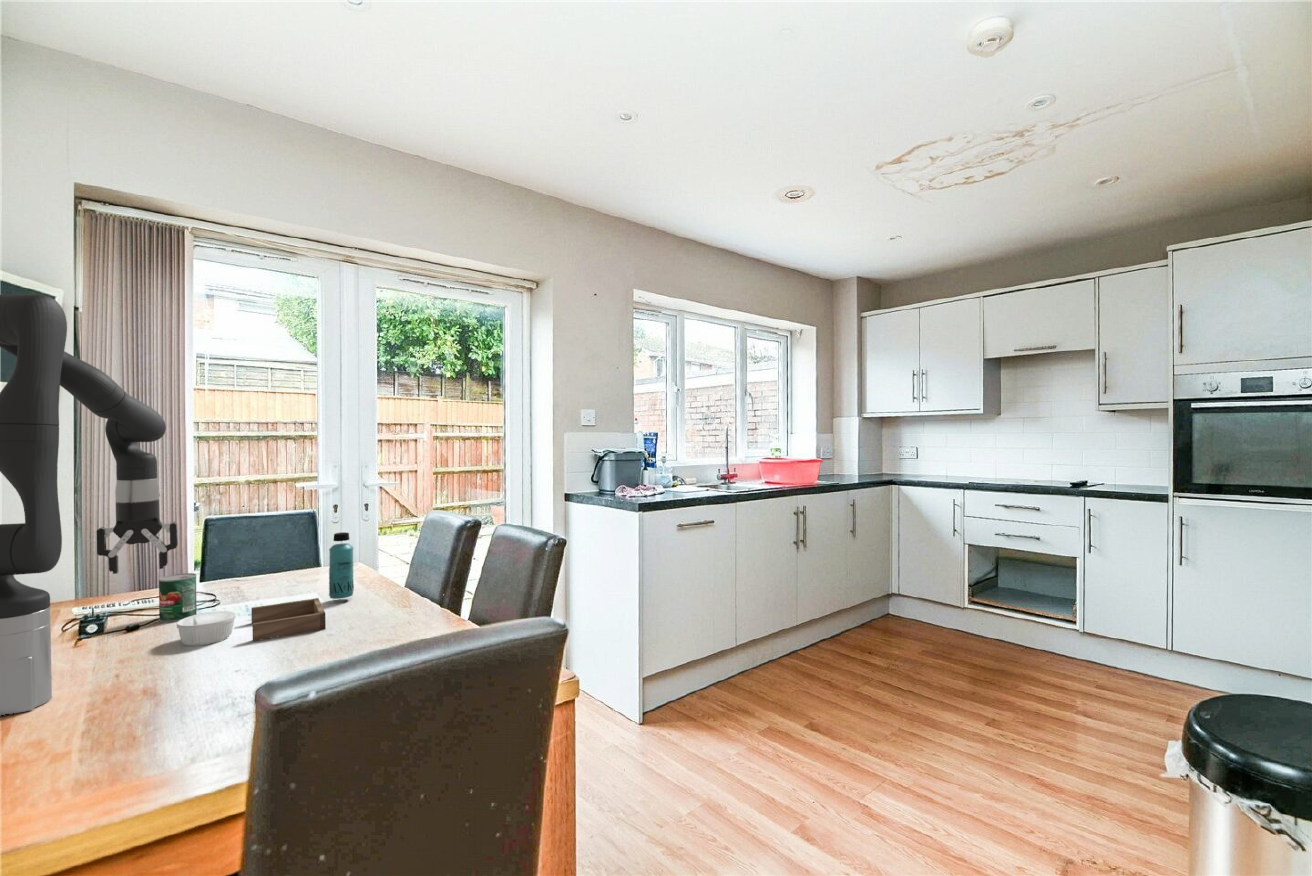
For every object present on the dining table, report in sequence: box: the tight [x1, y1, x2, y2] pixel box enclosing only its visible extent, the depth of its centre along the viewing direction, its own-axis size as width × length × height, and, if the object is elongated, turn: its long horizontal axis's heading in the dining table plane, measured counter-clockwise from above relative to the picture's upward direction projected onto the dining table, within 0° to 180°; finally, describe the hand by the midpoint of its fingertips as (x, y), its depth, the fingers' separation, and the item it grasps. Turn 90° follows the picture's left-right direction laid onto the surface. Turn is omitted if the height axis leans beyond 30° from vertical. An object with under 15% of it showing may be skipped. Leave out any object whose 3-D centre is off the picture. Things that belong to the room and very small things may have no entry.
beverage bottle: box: [328, 532, 355, 600], centre depth 175 cm, size 6×7×20 cm
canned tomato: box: [158, 572, 198, 623], centre depth 160 cm, size 8×8×11 cm
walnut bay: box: [250, 597, 327, 642], centre depth 153 cm, size 16×15×4 cm
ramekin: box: [176, 610, 237, 647], centre depth 143 cm, size 11×11×5 cm
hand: (139, 570), depth 136 cm, fingers open, 7 cm apart
